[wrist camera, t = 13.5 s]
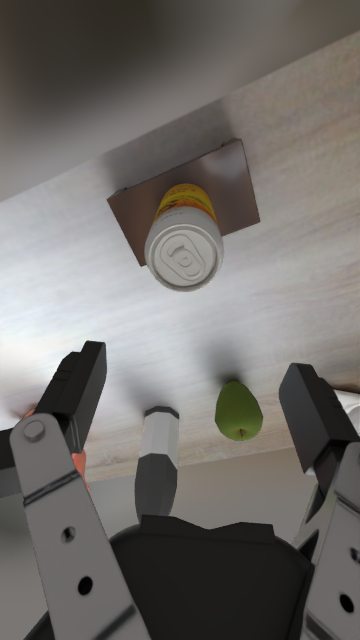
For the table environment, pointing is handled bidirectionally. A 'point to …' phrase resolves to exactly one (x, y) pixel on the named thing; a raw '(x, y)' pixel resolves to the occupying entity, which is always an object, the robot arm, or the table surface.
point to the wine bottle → (157, 463)
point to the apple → (238, 412)
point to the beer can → (184, 240)
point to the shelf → (205, 172)
